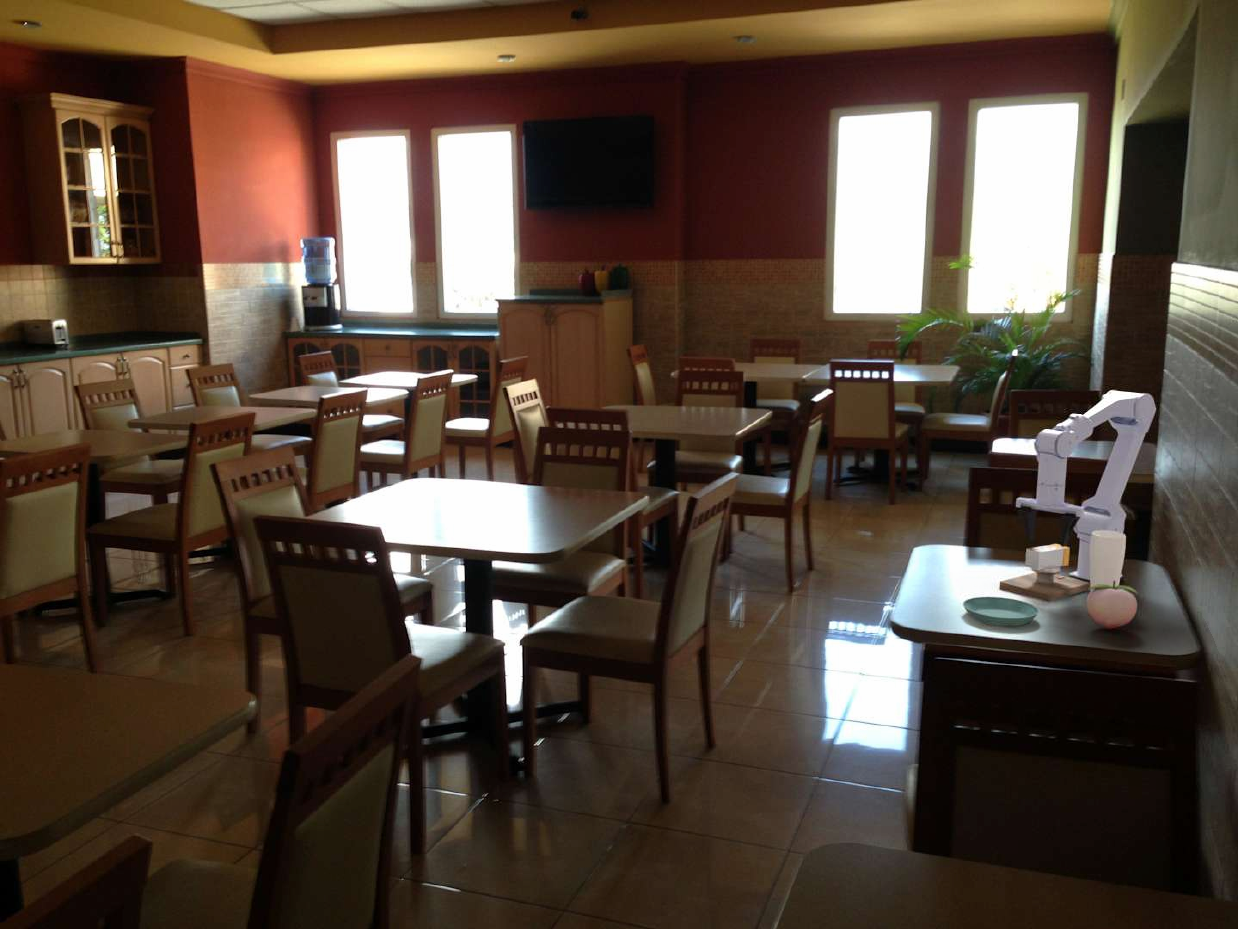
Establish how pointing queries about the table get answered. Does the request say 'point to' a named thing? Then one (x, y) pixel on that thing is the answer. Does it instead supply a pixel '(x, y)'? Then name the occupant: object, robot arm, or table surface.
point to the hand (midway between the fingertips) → (1046, 542)
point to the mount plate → (1044, 586)
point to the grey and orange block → (1047, 558)
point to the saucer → (1000, 611)
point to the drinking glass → (1106, 557)
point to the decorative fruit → (1111, 604)
